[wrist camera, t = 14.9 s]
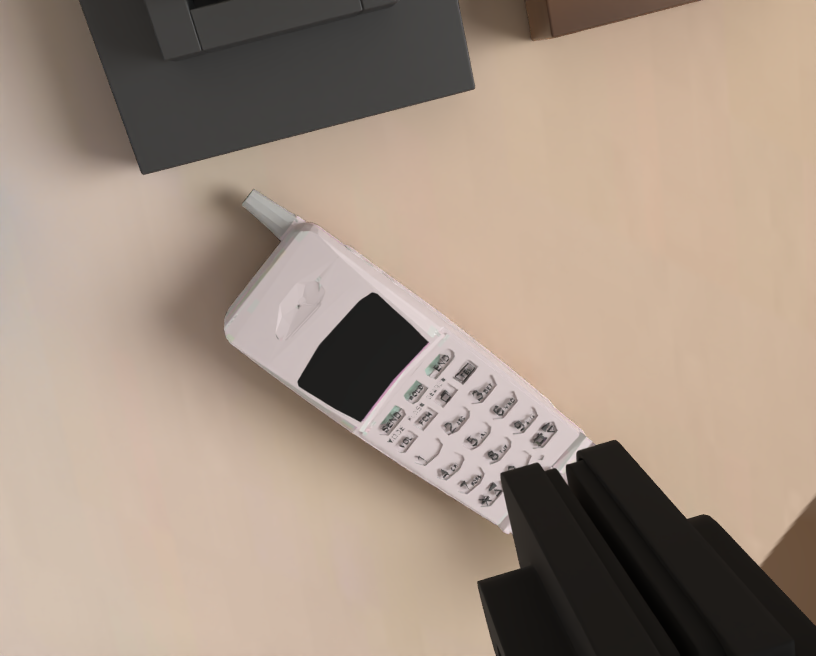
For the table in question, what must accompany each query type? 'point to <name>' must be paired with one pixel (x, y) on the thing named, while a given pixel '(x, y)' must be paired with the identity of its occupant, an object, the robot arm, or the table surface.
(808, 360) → the table surface
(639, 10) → the volume panel
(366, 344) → the mobile phone
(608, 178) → the table surface
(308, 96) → the keyboard block
